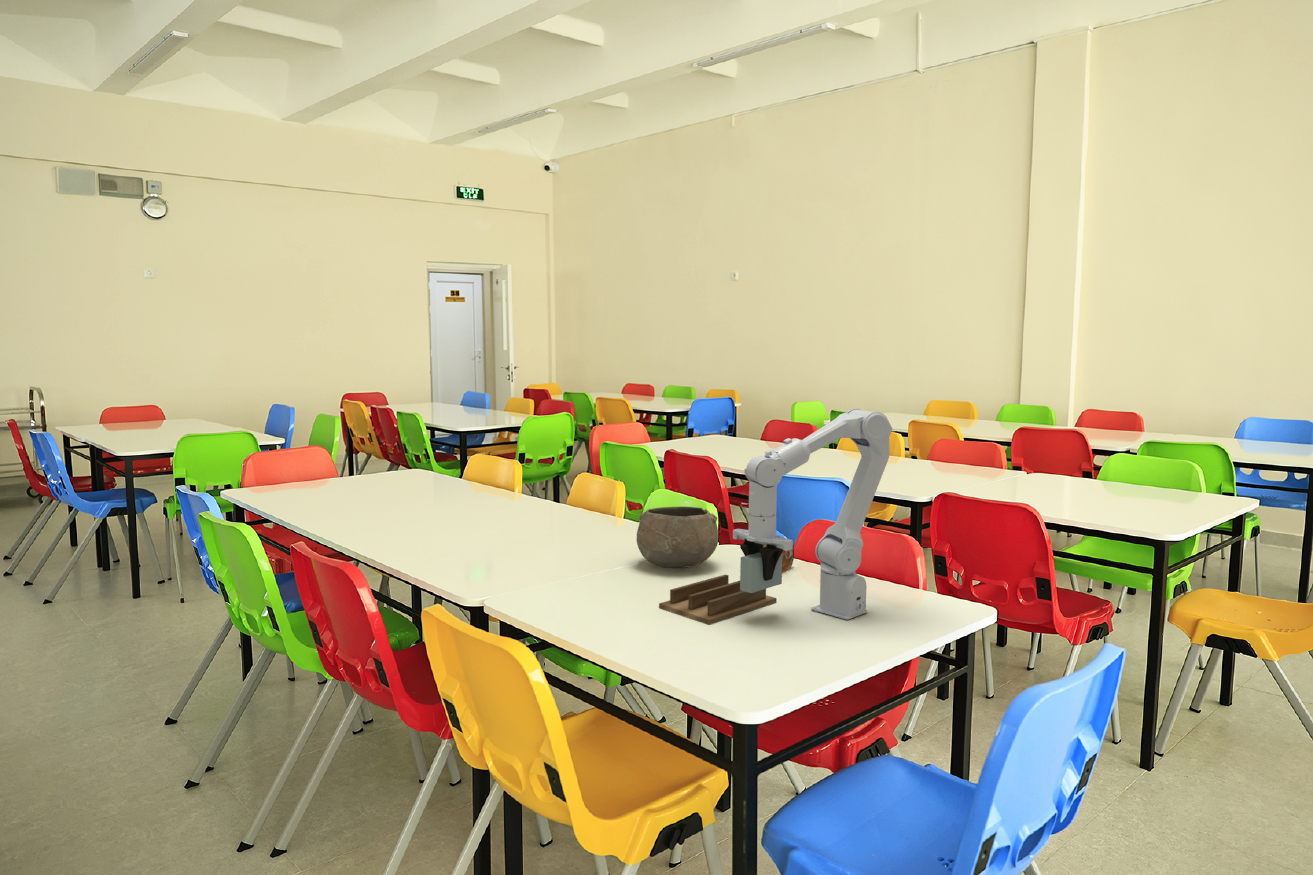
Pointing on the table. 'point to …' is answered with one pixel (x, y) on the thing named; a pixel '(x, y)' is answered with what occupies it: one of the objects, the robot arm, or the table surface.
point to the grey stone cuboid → (757, 574)
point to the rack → (714, 600)
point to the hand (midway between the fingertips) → (761, 577)
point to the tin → (786, 559)
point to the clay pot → (677, 536)
